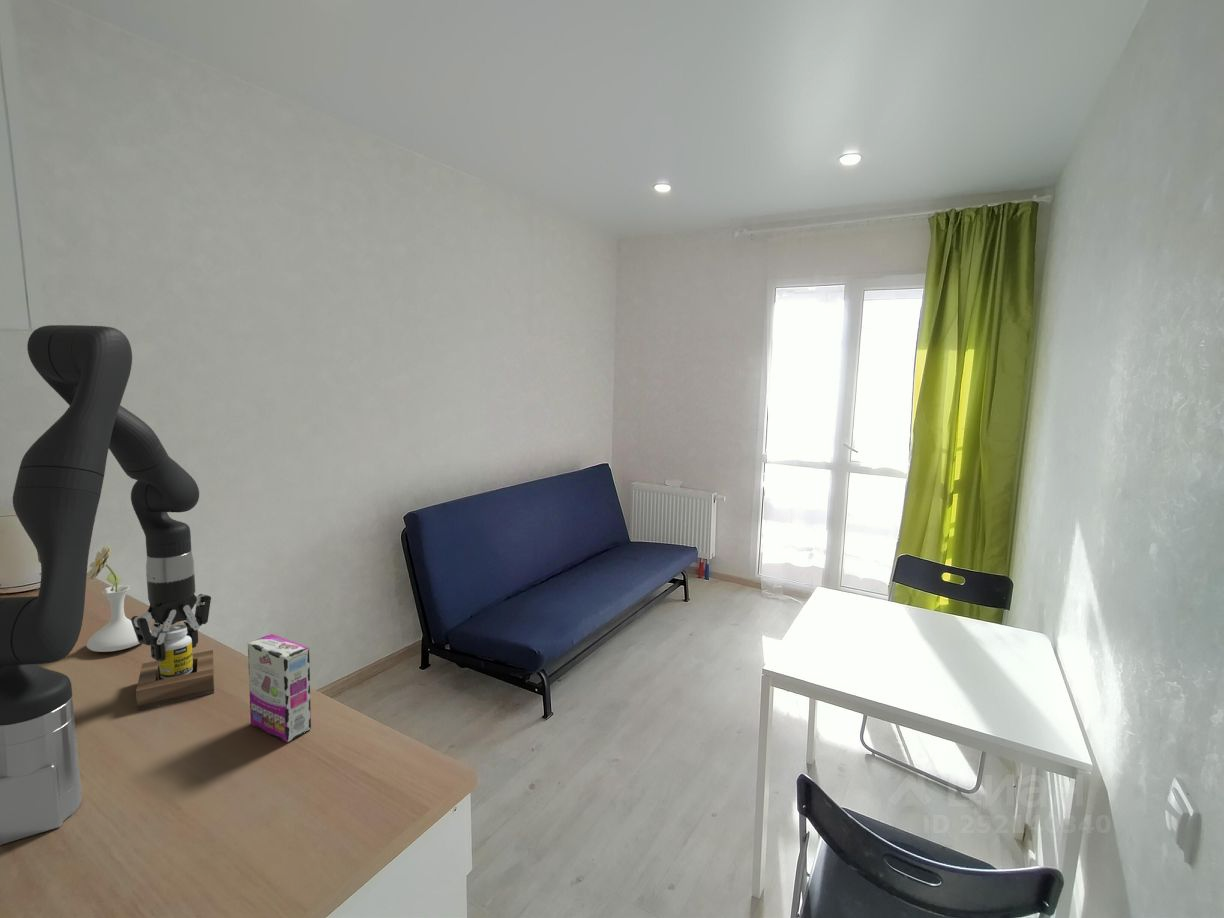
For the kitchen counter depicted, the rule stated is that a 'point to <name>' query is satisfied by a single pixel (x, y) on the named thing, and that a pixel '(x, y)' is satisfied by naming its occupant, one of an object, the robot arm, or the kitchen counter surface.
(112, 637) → the flower in vase
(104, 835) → the kitchen counter surface
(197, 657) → the socket block
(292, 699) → the candy bar box
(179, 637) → the supplement bottle
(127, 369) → the robot arm
